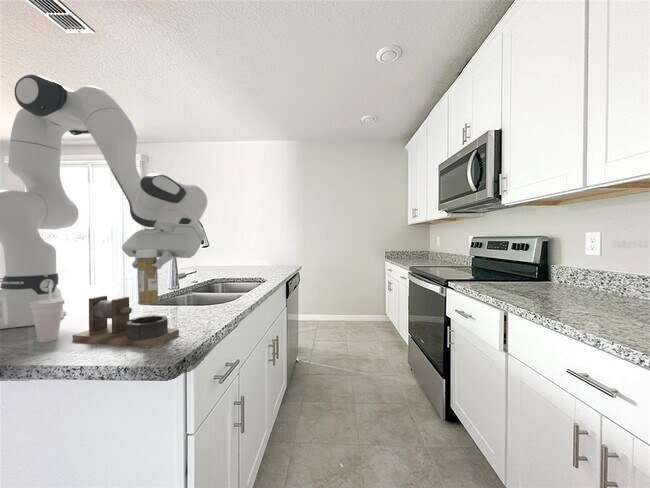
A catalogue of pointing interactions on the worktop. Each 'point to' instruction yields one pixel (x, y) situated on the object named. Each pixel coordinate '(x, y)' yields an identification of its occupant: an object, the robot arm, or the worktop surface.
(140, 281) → the pill bottle
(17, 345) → the worktop surface
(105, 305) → the winch stand
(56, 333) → the smoothie
